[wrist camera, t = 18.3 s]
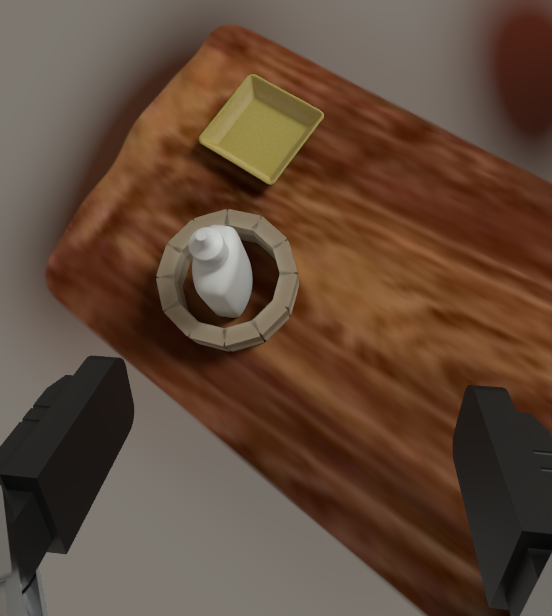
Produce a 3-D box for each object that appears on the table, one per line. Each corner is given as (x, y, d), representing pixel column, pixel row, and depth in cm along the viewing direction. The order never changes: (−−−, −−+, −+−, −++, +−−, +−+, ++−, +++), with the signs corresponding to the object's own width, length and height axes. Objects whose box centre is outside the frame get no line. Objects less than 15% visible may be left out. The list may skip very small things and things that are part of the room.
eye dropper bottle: (194, 298, 42) (147, 250, 31) (233, 249, 43) (202, 184, 32) (232, 327, 42) (199, 289, 30) (272, 276, 42) (254, 220, 31)
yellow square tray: (200, 152, 46) (195, 139, 44) (253, 85, 48) (250, 70, 46) (273, 197, 45) (271, 186, 43) (326, 127, 46) (326, 113, 44)
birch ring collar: (312, 328, 41) (312, 321, 38) (183, 365, 41) (173, 360, 38) (277, 210, 44) (274, 195, 41) (157, 245, 44) (145, 232, 41)
